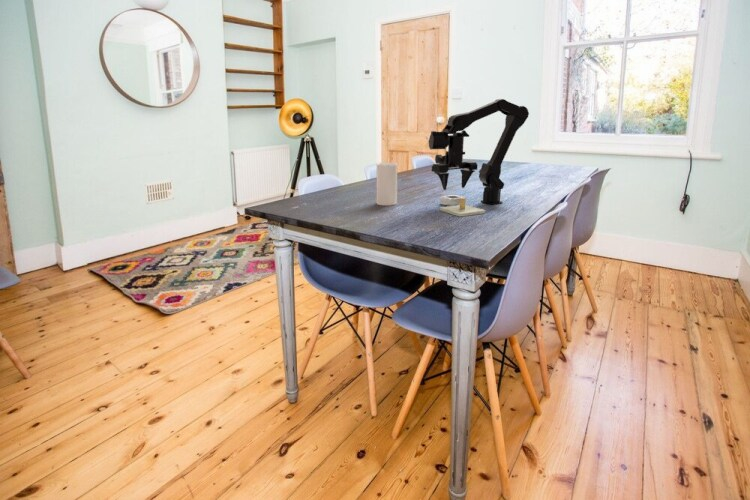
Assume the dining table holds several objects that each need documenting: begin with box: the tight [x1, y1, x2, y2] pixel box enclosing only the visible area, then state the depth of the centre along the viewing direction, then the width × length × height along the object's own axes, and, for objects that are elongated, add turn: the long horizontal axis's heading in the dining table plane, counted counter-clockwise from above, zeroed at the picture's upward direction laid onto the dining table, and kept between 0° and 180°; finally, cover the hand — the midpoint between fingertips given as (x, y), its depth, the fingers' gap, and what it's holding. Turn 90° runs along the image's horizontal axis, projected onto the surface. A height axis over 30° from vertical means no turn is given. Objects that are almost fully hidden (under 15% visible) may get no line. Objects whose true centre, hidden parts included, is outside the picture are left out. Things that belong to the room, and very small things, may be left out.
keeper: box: [439, 197, 486, 218], centre depth 171 cm, size 12×12×5 cm
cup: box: [376, 162, 398, 206], centre depth 184 cm, size 8×8×16 cm
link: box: [440, 194, 466, 207], centre depth 183 cm, size 7×7×3 cm
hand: (453, 188), depth 182 cm, fingers open, 9 cm apart
